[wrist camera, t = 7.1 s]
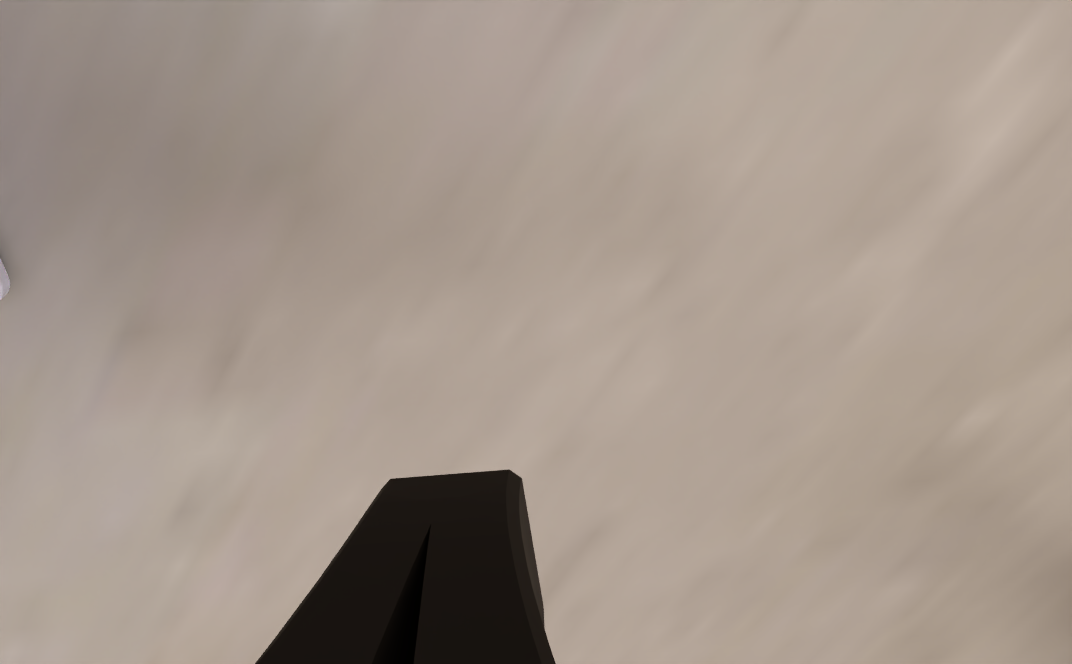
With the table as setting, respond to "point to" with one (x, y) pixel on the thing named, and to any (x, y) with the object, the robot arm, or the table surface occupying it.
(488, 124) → the table surface
